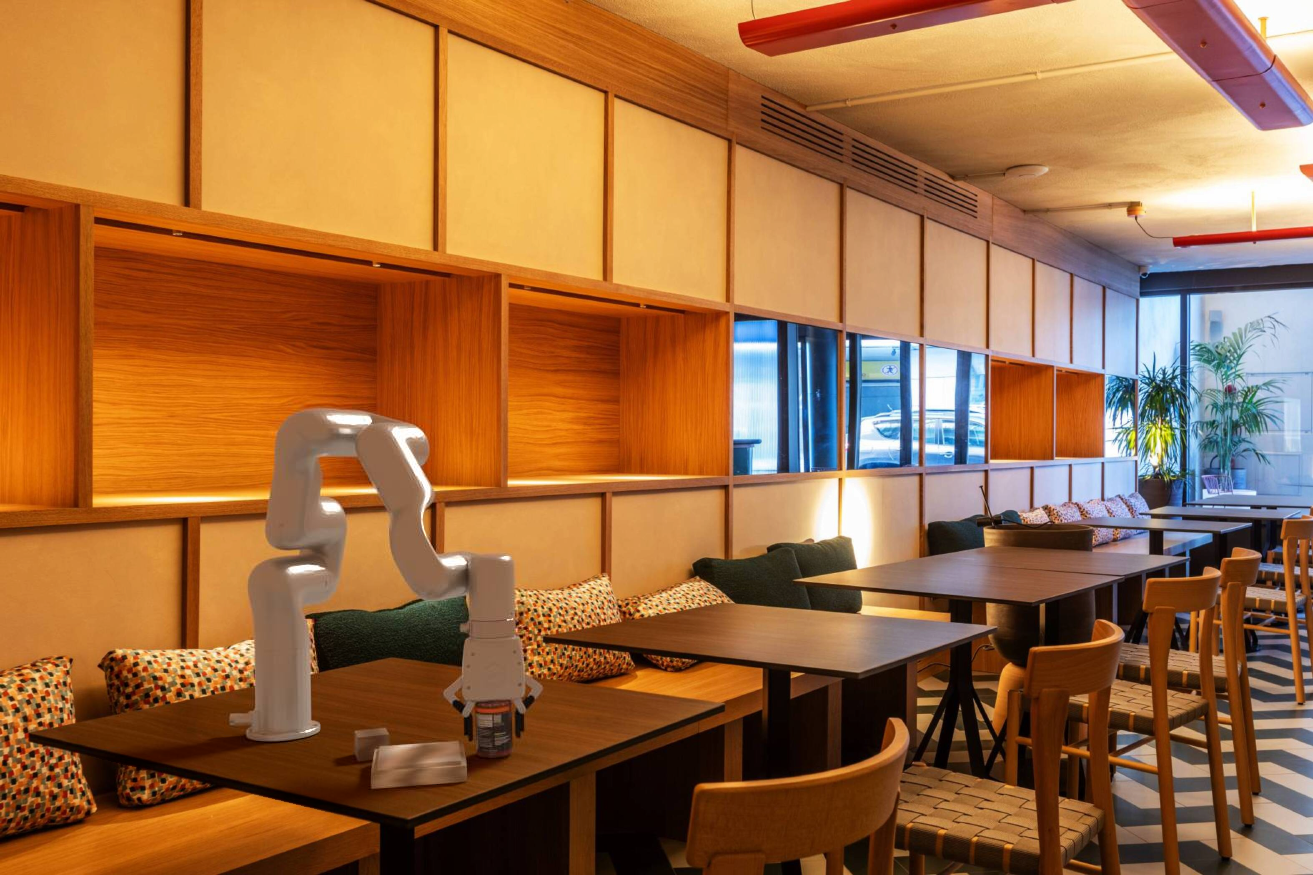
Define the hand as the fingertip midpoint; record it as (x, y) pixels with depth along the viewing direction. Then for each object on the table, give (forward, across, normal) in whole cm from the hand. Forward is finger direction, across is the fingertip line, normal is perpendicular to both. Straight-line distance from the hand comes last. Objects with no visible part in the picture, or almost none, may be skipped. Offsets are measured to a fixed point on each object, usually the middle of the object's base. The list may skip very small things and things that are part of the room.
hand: (494, 737), depth 187 cm
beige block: (+3, -20, +5) cm, 20 cm away
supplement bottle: (+3, 0, 0) cm, 3 cm away
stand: (+3, -12, -8) cm, 15 cm away
